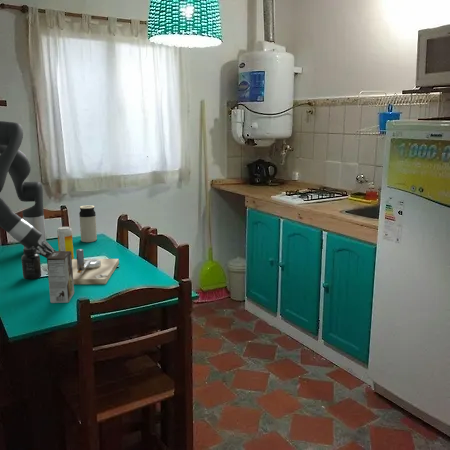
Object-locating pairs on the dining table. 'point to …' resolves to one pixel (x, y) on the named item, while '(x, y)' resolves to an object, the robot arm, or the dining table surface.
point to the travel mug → (88, 223)
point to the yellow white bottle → (65, 239)
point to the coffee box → (60, 276)
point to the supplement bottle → (31, 264)
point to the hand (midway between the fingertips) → (62, 262)
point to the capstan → (85, 262)
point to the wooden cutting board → (95, 272)
